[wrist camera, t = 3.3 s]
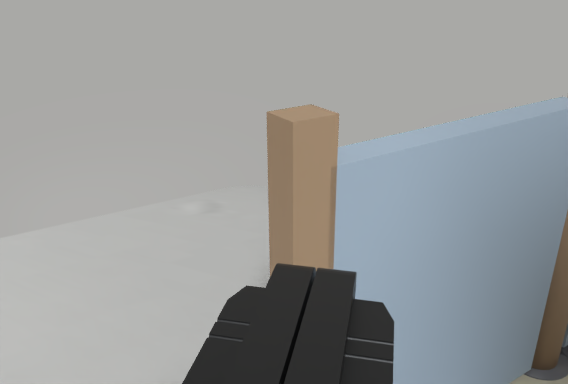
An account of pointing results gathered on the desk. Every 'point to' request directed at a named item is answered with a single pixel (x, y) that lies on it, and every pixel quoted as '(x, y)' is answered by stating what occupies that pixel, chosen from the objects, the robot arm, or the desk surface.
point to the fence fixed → (555, 312)
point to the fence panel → (431, 229)
